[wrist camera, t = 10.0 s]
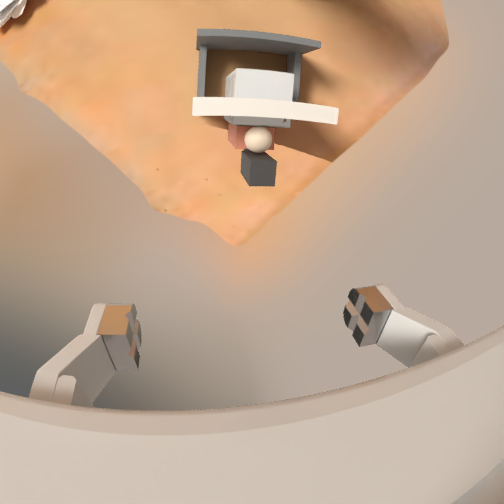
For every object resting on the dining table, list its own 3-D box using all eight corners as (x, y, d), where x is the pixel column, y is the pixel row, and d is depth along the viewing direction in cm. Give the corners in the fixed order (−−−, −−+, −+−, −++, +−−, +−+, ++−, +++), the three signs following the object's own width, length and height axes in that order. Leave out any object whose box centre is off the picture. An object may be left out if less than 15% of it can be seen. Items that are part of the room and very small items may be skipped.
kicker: (228, 119, 41) (243, 128, 29) (260, 121, 42) (288, 130, 30) (227, 160, 45) (240, 186, 32) (257, 160, 46) (282, 186, 33)
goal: (196, 43, 35) (198, 14, 21) (296, 51, 38) (344, 33, 24) (193, 111, 40) (192, 115, 26) (291, 114, 43) (337, 124, 29)
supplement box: (271, 79, 40) (297, 73, 29) (267, 122, 43) (291, 130, 33) (225, 75, 38) (235, 66, 28) (221, 119, 42) (231, 126, 31)
